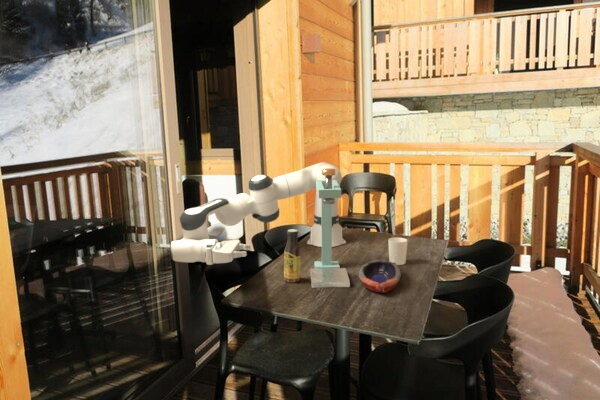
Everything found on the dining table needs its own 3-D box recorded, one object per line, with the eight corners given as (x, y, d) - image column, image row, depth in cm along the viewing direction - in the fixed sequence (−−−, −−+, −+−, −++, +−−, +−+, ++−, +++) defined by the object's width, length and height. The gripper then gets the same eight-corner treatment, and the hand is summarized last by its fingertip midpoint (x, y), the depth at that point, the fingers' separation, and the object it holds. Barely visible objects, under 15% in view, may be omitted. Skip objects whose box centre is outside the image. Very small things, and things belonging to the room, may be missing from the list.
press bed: (310, 273, 199) (310, 268, 198) (345, 272, 199) (345, 268, 198) (311, 287, 183) (311, 282, 183) (349, 287, 183) (349, 281, 183)
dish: (401, 270, 201) (401, 258, 200) (399, 298, 172) (399, 285, 171) (362, 268, 204) (363, 256, 204) (354, 295, 175) (354, 282, 174)
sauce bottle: (280, 280, 191) (279, 229, 188) (293, 276, 195) (292, 227, 192) (291, 284, 186) (290, 233, 183) (304, 280, 190) (303, 230, 187)
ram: (321, 201, 188) (321, 168, 186) (335, 201, 188) (334, 168, 186) (322, 204, 183) (322, 170, 181) (336, 203, 183) (336, 169, 181)
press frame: (314, 264, 210) (313, 179, 204) (338, 263, 210) (337, 179, 204) (316, 286, 184) (315, 190, 177) (344, 286, 184) (344, 189, 177)
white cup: (386, 264, 208) (387, 241, 206) (389, 259, 215) (389, 236, 214) (406, 266, 206) (406, 242, 204) (407, 260, 213) (408, 238, 211)
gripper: (218, 251, 201) (252, 251, 200) (206, 266, 181) (244, 266, 180) (217, 236, 200) (252, 236, 199) (205, 249, 180) (243, 249, 179)
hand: (248, 250), depth 189 cm, fingers open, 8 cm apart
